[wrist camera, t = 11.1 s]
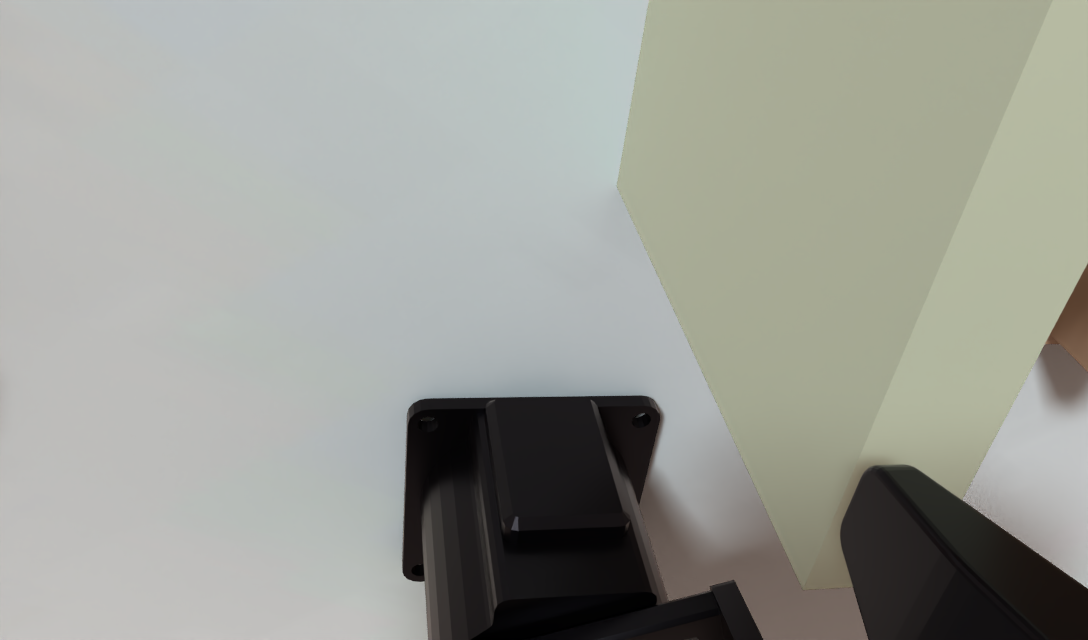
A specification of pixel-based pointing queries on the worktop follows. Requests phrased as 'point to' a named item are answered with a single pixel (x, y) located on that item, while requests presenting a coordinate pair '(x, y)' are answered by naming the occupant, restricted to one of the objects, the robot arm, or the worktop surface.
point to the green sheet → (860, 228)
